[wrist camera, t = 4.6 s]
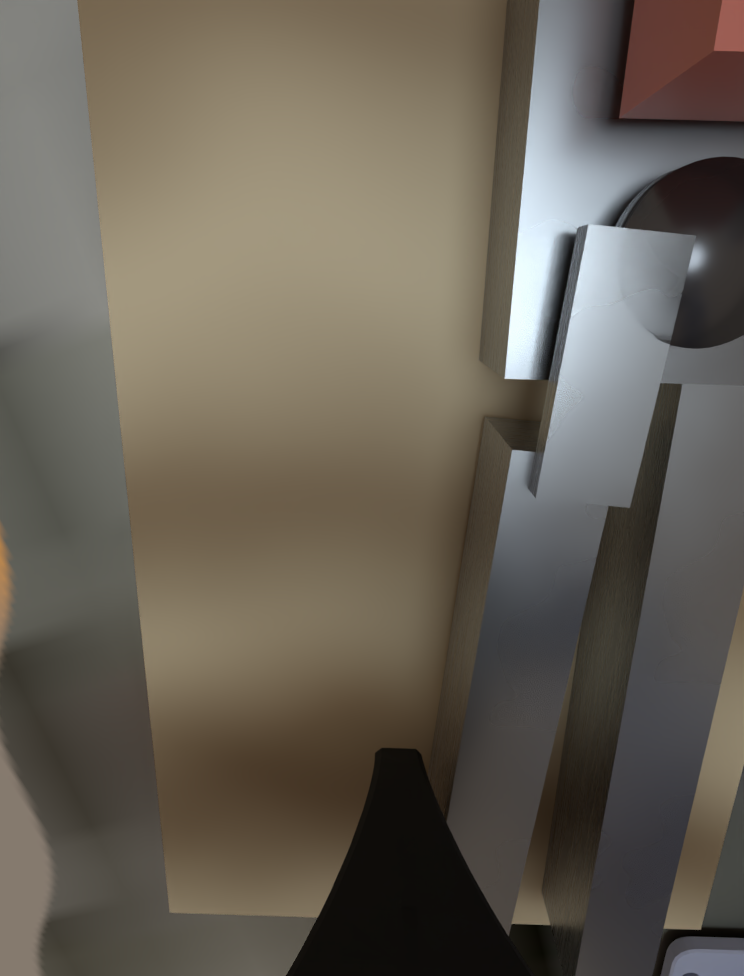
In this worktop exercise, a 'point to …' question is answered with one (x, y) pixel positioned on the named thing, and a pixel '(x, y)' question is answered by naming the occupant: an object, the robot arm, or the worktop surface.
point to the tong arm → (570, 500)
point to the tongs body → (657, 495)
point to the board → (310, 417)
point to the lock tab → (685, 61)
